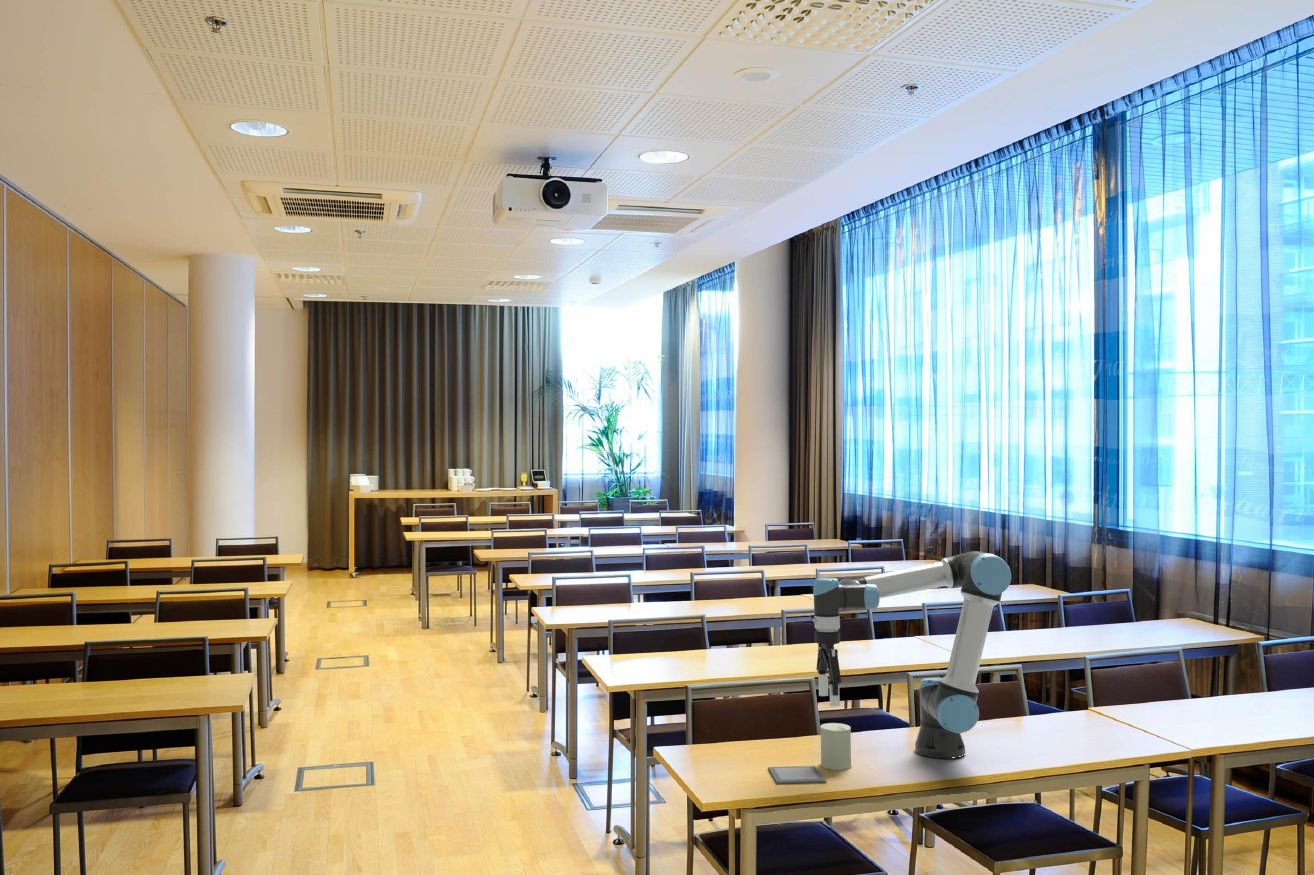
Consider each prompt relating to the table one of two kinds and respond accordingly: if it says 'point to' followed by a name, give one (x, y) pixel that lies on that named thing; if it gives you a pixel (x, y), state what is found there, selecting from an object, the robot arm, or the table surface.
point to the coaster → (796, 775)
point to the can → (835, 746)
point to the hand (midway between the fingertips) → (829, 700)
